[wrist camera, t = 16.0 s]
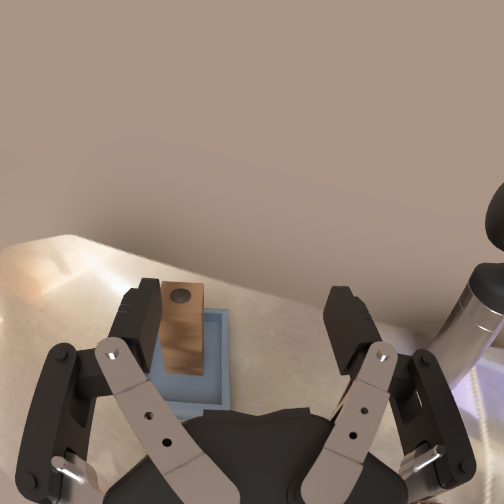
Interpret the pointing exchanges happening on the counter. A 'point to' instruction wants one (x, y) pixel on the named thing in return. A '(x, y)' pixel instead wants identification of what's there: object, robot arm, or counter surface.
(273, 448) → the robot arm
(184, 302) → the walnut block
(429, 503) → the shard
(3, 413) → the counter surface
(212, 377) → the slate tray
